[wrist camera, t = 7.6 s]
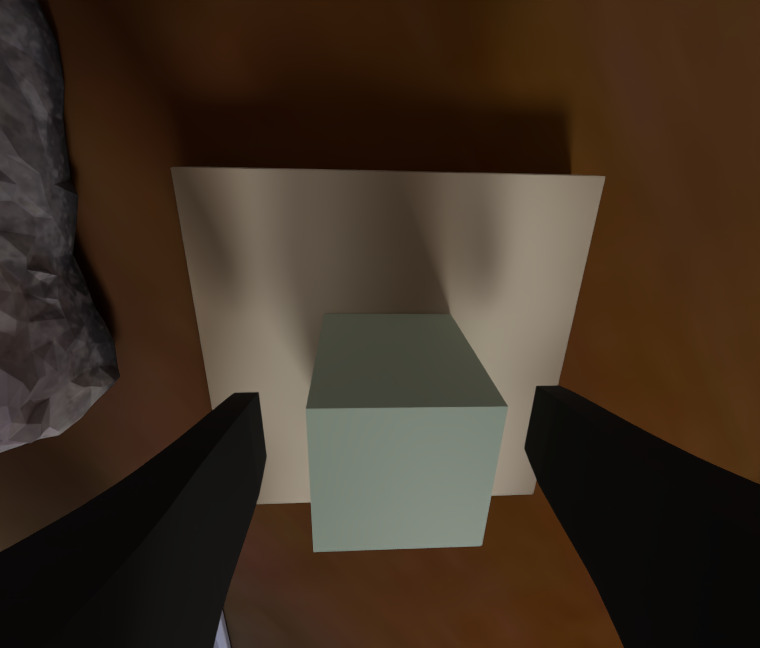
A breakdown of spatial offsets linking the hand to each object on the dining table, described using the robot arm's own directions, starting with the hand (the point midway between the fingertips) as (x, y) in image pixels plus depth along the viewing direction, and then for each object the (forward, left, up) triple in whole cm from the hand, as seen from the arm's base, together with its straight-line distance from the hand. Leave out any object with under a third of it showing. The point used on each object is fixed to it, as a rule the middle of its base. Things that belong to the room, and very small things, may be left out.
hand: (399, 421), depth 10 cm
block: (0, 0, -3) cm, 3 cm away
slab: (0, 0, -6) cm, 6 cm away
